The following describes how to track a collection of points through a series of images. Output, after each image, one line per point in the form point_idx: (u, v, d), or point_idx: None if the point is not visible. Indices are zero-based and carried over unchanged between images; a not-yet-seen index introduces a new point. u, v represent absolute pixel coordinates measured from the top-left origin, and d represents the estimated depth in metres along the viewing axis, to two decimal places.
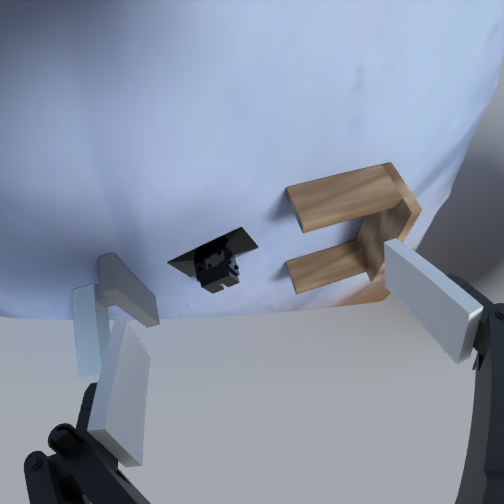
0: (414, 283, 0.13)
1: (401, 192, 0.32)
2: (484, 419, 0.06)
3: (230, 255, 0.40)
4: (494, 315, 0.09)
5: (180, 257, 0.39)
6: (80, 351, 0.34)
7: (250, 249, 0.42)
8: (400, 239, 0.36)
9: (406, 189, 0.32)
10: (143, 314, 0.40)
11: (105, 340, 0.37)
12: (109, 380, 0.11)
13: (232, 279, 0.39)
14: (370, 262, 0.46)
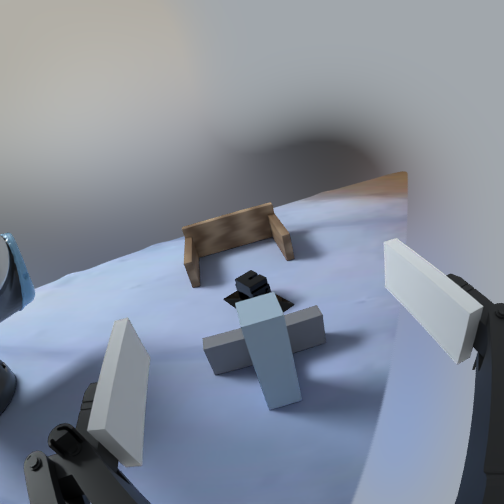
0: (414, 282, 0.13)
1: None
2: (485, 419, 0.06)
3: None
4: (494, 315, 0.09)
5: None
6: None
7: None
8: (210, 220, 0.65)
9: None
10: None
11: None
12: (109, 380, 0.11)
13: (243, 275, 0.48)
14: (260, 217, 0.66)
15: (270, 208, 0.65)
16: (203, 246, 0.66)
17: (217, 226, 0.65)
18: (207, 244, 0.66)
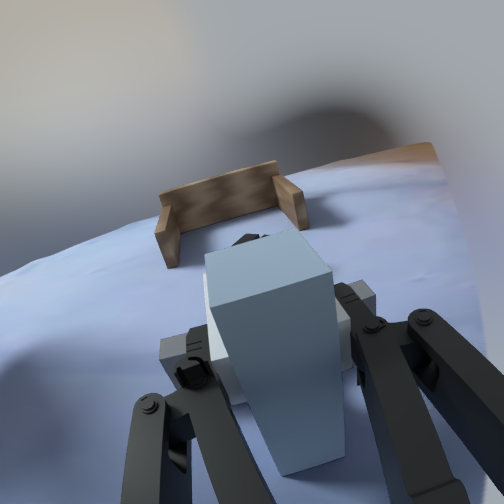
0: None
1: None
2: (388, 440, 0.07)
3: None
4: (363, 332, 0.10)
5: None
6: None
7: None
8: (195, 182, 0.48)
9: None
10: None
11: None
12: None
13: (238, 241, 0.32)
14: (262, 178, 0.49)
15: (274, 167, 0.49)
16: (187, 217, 0.50)
17: (205, 190, 0.49)
18: (192, 214, 0.50)
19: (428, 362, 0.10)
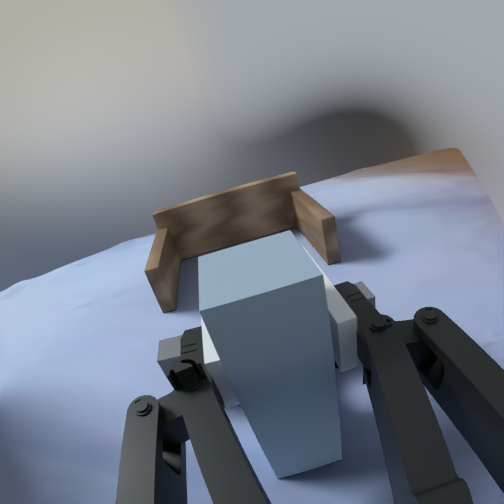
0: None
1: None
2: (392, 439, 0.07)
3: None
4: (369, 330, 0.10)
5: None
6: None
7: None
8: (196, 199, 0.40)
9: None
10: None
11: None
12: None
13: None
14: (278, 194, 0.41)
15: (293, 180, 0.40)
16: (187, 242, 0.41)
17: (208, 209, 0.40)
18: (193, 238, 0.41)
19: (433, 360, 0.10)
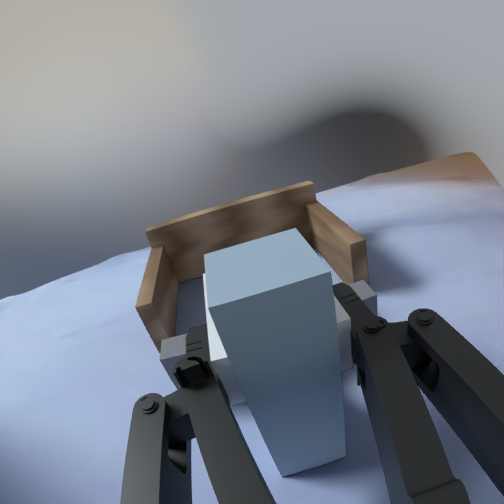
0: None
1: None
2: (388, 441, 0.07)
3: None
4: (363, 332, 0.10)
5: None
6: None
7: None
8: (197, 214, 0.34)
9: None
10: None
11: None
12: None
13: None
14: (292, 208, 0.35)
15: (310, 191, 0.35)
16: (186, 263, 0.36)
17: (211, 225, 0.34)
18: (193, 258, 0.36)
19: (428, 362, 0.10)
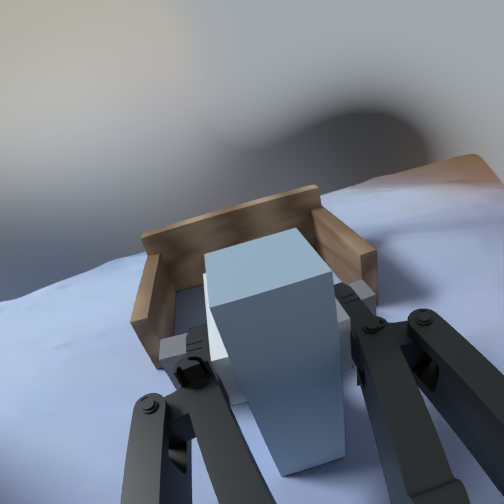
0: None
1: None
2: (388, 441, 0.07)
3: None
4: (363, 332, 0.10)
5: None
6: None
7: None
8: (195, 219, 0.32)
9: None
10: None
11: None
12: None
13: None
14: (296, 213, 0.33)
15: (315, 196, 0.33)
16: (184, 271, 0.34)
17: (210, 231, 0.32)
18: (192, 266, 0.34)
19: (428, 362, 0.10)
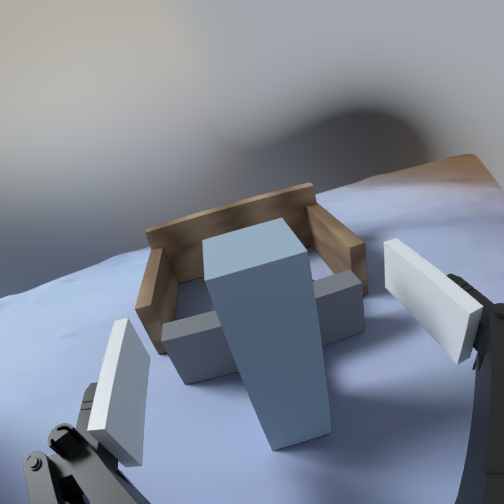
0: (414, 283, 0.13)
1: None
2: (484, 419, 0.06)
3: None
4: (494, 315, 0.09)
5: None
6: None
7: None
8: (197, 215, 0.34)
9: None
10: None
11: None
12: (109, 380, 0.11)
13: None
14: (292, 209, 0.35)
15: (310, 193, 0.35)
16: (186, 264, 0.36)
17: (211, 226, 0.34)
18: (193, 259, 0.36)
19: None
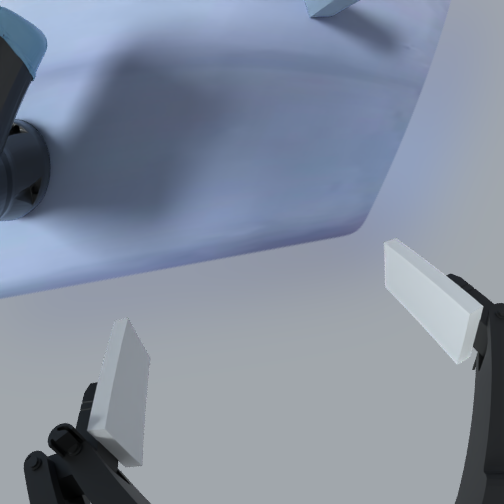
0: (414, 282, 0.13)
1: None
2: (485, 419, 0.06)
3: None
4: (494, 315, 0.09)
5: None
6: None
7: None
8: None
9: None
10: None
11: None
12: (109, 380, 0.11)
13: None
14: None
15: None
16: None
17: None
18: None
19: None
